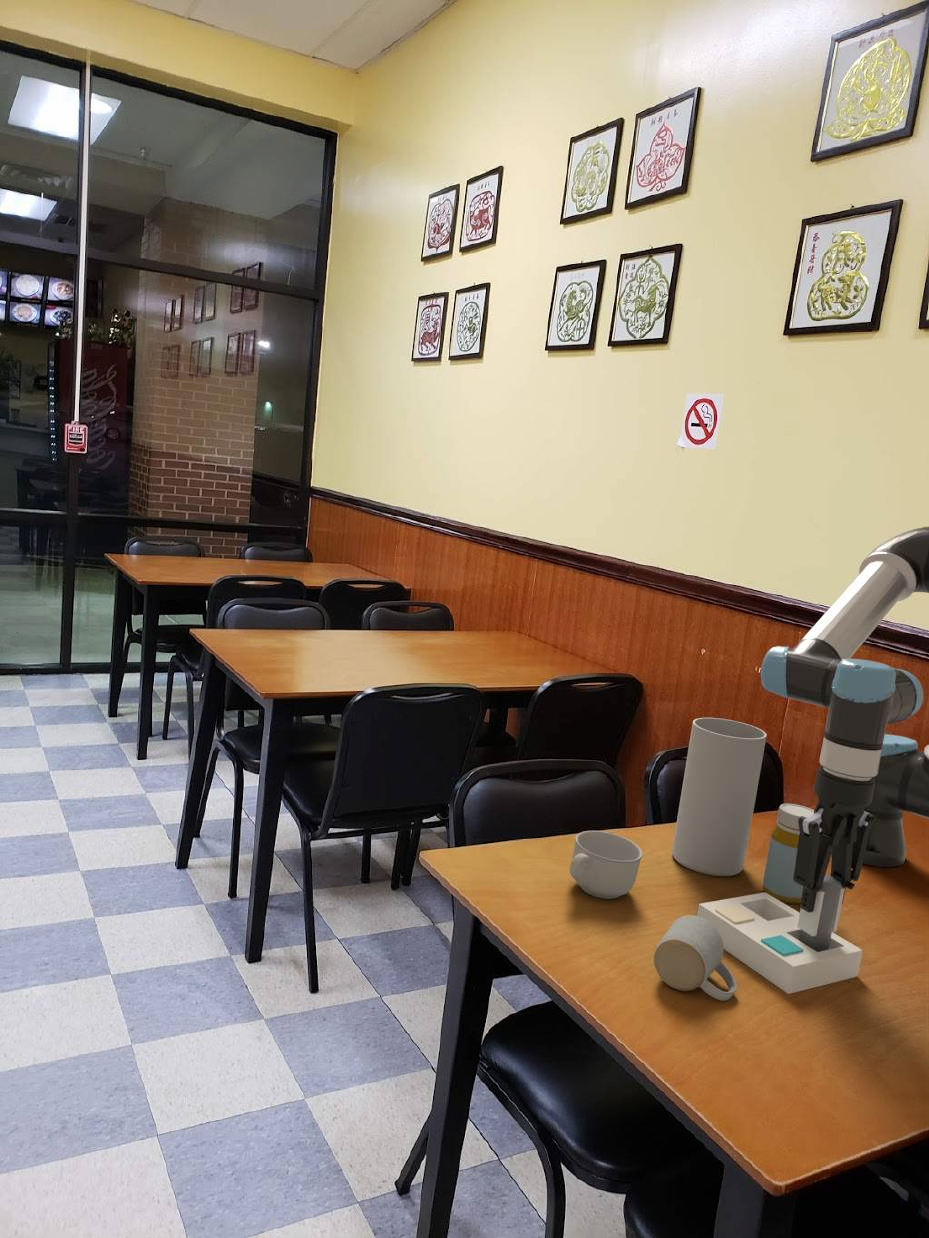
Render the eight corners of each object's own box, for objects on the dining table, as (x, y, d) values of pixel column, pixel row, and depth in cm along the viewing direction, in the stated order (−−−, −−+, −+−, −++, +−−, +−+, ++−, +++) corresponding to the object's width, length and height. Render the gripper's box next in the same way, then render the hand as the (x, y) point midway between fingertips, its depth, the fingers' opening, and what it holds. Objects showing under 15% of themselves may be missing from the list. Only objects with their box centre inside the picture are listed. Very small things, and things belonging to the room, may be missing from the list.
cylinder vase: (657, 851, 165) (678, 718, 161) (709, 845, 171) (730, 716, 167) (704, 881, 154) (727, 740, 150) (758, 874, 160) (782, 737, 156)
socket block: (761, 915, 144) (765, 890, 143) (857, 976, 128) (863, 948, 127) (694, 928, 137) (699, 901, 136) (788, 994, 121) (793, 964, 121)
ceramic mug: (646, 981, 120) (656, 928, 119) (665, 957, 127) (674, 906, 126) (725, 1014, 115) (737, 958, 114) (741, 986, 122) (751, 934, 121)
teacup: (604, 871, 154) (610, 826, 152) (649, 899, 145) (657, 852, 143) (539, 884, 146) (546, 837, 144) (583, 915, 137) (591, 865, 136)
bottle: (808, 908, 148) (824, 821, 146) (764, 900, 150) (779, 813, 147) (801, 890, 155) (817, 807, 153) (759, 882, 156) (774, 799, 154)
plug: (812, 936, 132) (824, 872, 130) (834, 950, 129) (847, 884, 127) (792, 940, 130) (805, 875, 128) (815, 955, 127) (828, 888, 125)
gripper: (863, 759, 132) (834, 908, 136) (783, 765, 124) (755, 924, 128) (909, 777, 126) (877, 933, 130) (828, 785, 118) (797, 951, 122)
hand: (817, 928), depth 129 cm, fingers closed on plug, 3 cm apart
